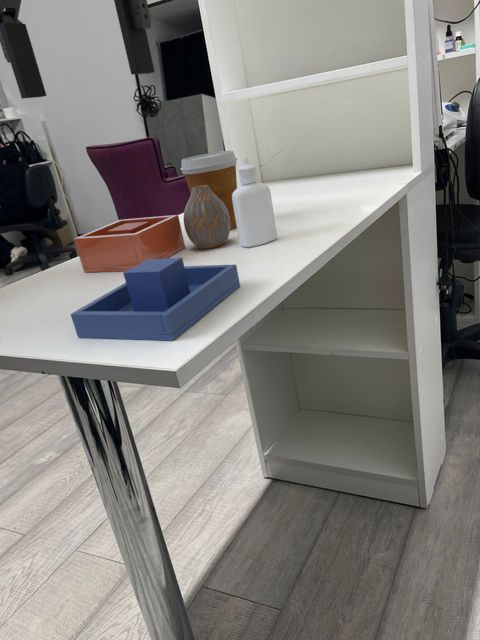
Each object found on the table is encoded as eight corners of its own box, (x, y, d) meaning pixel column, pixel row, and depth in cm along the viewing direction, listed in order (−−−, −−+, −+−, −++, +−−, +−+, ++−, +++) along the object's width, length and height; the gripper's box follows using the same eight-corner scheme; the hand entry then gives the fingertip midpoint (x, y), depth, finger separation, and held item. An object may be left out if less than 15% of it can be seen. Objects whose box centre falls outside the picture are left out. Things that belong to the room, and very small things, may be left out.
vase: (231, 236, 86) (220, 179, 82) (236, 245, 80) (225, 184, 76) (188, 244, 85) (176, 188, 82) (190, 254, 79) (177, 194, 76)
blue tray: (77, 337, 55) (70, 314, 54) (156, 287, 67) (151, 267, 66) (173, 340, 50) (167, 314, 49) (240, 286, 62) (236, 264, 61)
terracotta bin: (84, 272, 80) (73, 238, 78) (128, 250, 89) (120, 219, 87) (145, 270, 75) (136, 234, 73) (185, 247, 84) (178, 214, 82)
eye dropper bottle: (239, 242, 81) (224, 159, 76) (276, 236, 81) (264, 152, 76) (240, 249, 77) (224, 162, 72) (279, 242, 77) (266, 154, 72)
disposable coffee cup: (182, 235, 93) (166, 163, 88) (217, 221, 99) (204, 153, 94) (225, 235, 87) (210, 158, 82) (259, 220, 94) (247, 148, 89)
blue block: (134, 313, 57) (122, 272, 55) (157, 297, 61) (147, 259, 59) (169, 313, 55) (159, 271, 53) (191, 297, 59) (182, 257, 57)
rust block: (115, 260, 81) (106, 231, 79) (132, 252, 84) (125, 223, 83) (139, 259, 79) (131, 229, 77) (156, 250, 83) (149, 221, 81)
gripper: (162, -251, 41) (216, 61, 50) (-54, -138, 52) (21, 103, 60) (100, -303, 35) (173, 62, 44) (-131, -164, 46) (-34, 108, 54)
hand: (86, 86), depth 52 cm, fingers open, 13 cm apart
